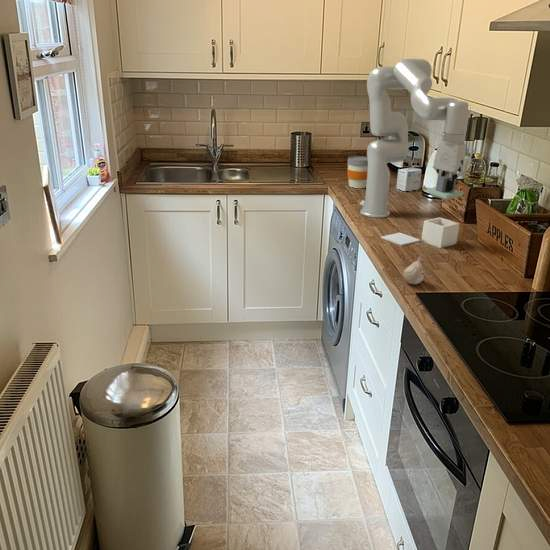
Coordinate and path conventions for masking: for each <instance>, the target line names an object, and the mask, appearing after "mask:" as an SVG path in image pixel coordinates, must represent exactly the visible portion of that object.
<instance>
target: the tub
mask: <svg viewBox="0 0 550 550" xmlns="http://www.w3.org/2000/svg"><path fill="white" fill-rule="evenodd" d="M459 228H460V222H457V221H454V220H450V219H446V218H443V217H435V218H431V219H426V220H424V221H423V226H422V233H421V239H420V242H422V243H425V244H428V245H430V246H434V247H436V248H439V249H442V248H446V247H451V246H454V245H457V242H458V236H459V235H458V234H459Z"/></svg>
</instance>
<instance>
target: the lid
mask: <svg viewBox="0 0 550 550" xmlns="http://www.w3.org/2000/svg"><path fill="white" fill-rule="evenodd" d="M447 180H449V174H446V176H440V177H438V176H437V179H436V185H435V187H429V188H426V189H425V192H426V193H428V194H430V196H432V197H435V198H438V199H442V200H444V201H446V200H450V199H451V200H452V199H457V198H459V197H460V196H464V193H465V192H464V191H463V190H459V189H456V184H457V183H456V182H457V179H456V180H454V186H453V190H452V191H446V185H447Z"/></svg>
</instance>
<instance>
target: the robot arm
mask: <svg viewBox="0 0 550 550" xmlns="http://www.w3.org/2000/svg"><path fill="white" fill-rule="evenodd" d="M432 71H433V70H432V65H431V64H430V62H429V61H428V60H426V59H423V58H404V59H401V60H398V62H397V63H396V64H395V65H394V66H379V67H378V66H377V67H376V68H373V69H372V70H371V71H370V73H369V75H368V77H367V80H366V91H367V95H368V100H369V129H370V132H371V135H373V136H376V137H390V138H391V139H388V138H387V139H376V140H373V141H371V142H370V143H369V144H368V145H367V148H366V149H367V150H366V157H367V159H368V173H367V185H366V189H365V197H364V198H365V199H364V200H361V201H360V202H359V206H361V207H362V208H361V209H360V211H359V212H360V214H361V215H363V216H365V217H370V218H386V217H389V216H390V214H391V211H389V210H388V209H387V208H388V201H389V200H388V199H389V197H388V196H389V190H390V189H389V188H390V182H391V181H390V180H391V179H390V178H391V171H390V168H389V167H388V164H389V163H400V162H403V161H404V160H405V159H406V158H407V156H408V152H409V124H408V120H407V117H406V116H405V115H404V114H403V113H402V112H399V111H394V112H393V111H392V106H391V105H392V103H391V98H390V97H389V94H388V92H387V91H386V90H407V92H408V93H410V102H411V103H410V104H411V107H412V109H413V110H414V111H415V113H416V114H417V115H418V116H419V117H420V118H421V119H424V120H426V121H444V126H443V132H441V133H440V136H441V137H442V138H441V139H440V140H439V142H438V145H437V148H436V152H435V154H434V155H435V156H434V161H433V166H432V168H433V169H434V170H435V172H436V174H437V178H438V177H440V176H446V175H447V173H448V175H449V180H447V185H446V191H452V190H453V186H454V180H456V181H457V179H458V178H459V177H462V176H465V172H464V167H465V162H466V161H465V160H466V153H467V151H466V143H465V141H466V136H467V135H466V134H467V129H468V125H469V117H470V113H471V109H470V110H468V106H469V105H468V103H469V102H468V101H463V100H458V99H455V98H453V97H430V96H428V95H427V94H428V93H429V92H431V89H432V87H433V81H432V80H433V79H432V78H431V75H432ZM467 102H468V103H467Z"/></svg>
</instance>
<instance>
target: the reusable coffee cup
mask: <svg viewBox="0 0 550 550" xmlns="http://www.w3.org/2000/svg"><path fill="white" fill-rule="evenodd" d="M346 163H347V168H346V169H347V173H346V174H347V178H348V187H349V186H350V187H354V188H365V187H366V185H367V173H368V159H367V156H363V155H362V156H361V155H353V156H348V158H347V162H346Z"/></svg>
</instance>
